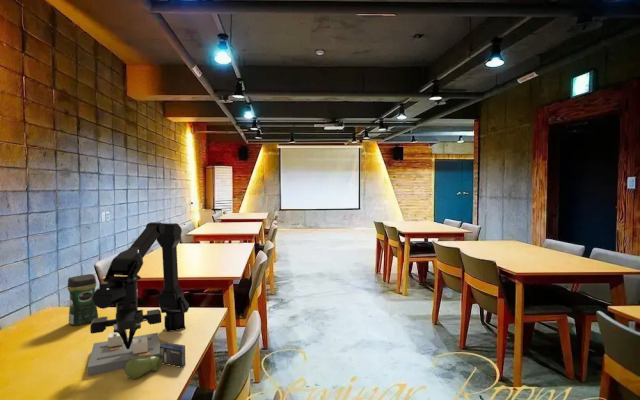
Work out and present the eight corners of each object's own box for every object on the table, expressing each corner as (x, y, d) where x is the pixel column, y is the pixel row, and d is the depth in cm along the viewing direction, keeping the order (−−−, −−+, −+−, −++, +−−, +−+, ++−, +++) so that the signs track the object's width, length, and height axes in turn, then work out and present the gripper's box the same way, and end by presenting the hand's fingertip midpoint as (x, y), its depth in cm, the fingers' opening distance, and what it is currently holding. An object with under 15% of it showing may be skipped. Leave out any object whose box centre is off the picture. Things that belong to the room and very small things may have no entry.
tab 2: (147, 346, 117) (147, 335, 116) (147, 351, 113) (147, 339, 113) (133, 348, 115) (132, 337, 115) (132, 354, 111) (132, 342, 111)
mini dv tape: (160, 363, 111) (159, 343, 111) (163, 361, 113) (163, 341, 112) (182, 367, 108) (181, 347, 108) (185, 365, 110) (185, 345, 110)
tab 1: (123, 340, 121) (122, 329, 121) (122, 344, 118) (122, 333, 118) (109, 342, 120) (108, 331, 120) (108, 347, 116) (107, 335, 116)
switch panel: (157, 339, 129) (157, 332, 128) (161, 361, 112) (160, 352, 112) (94, 350, 120) (93, 342, 120) (87, 375, 104) (87, 366, 104)
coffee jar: (93, 316, 153) (92, 271, 152) (100, 320, 148) (99, 274, 147) (66, 322, 146) (64, 276, 145) (72, 327, 140) (70, 279, 140)
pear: (122, 357, 103) (155, 350, 111) (119, 377, 102) (153, 368, 111) (133, 362, 100) (166, 354, 108) (130, 383, 99) (164, 373, 107)
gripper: (87, 310, 101) (88, 367, 101) (161, 300, 109) (163, 352, 109) (91, 299, 111) (93, 350, 111) (159, 291, 119) (161, 339, 119)
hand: (128, 348), depth 112 cm, fingers closed
